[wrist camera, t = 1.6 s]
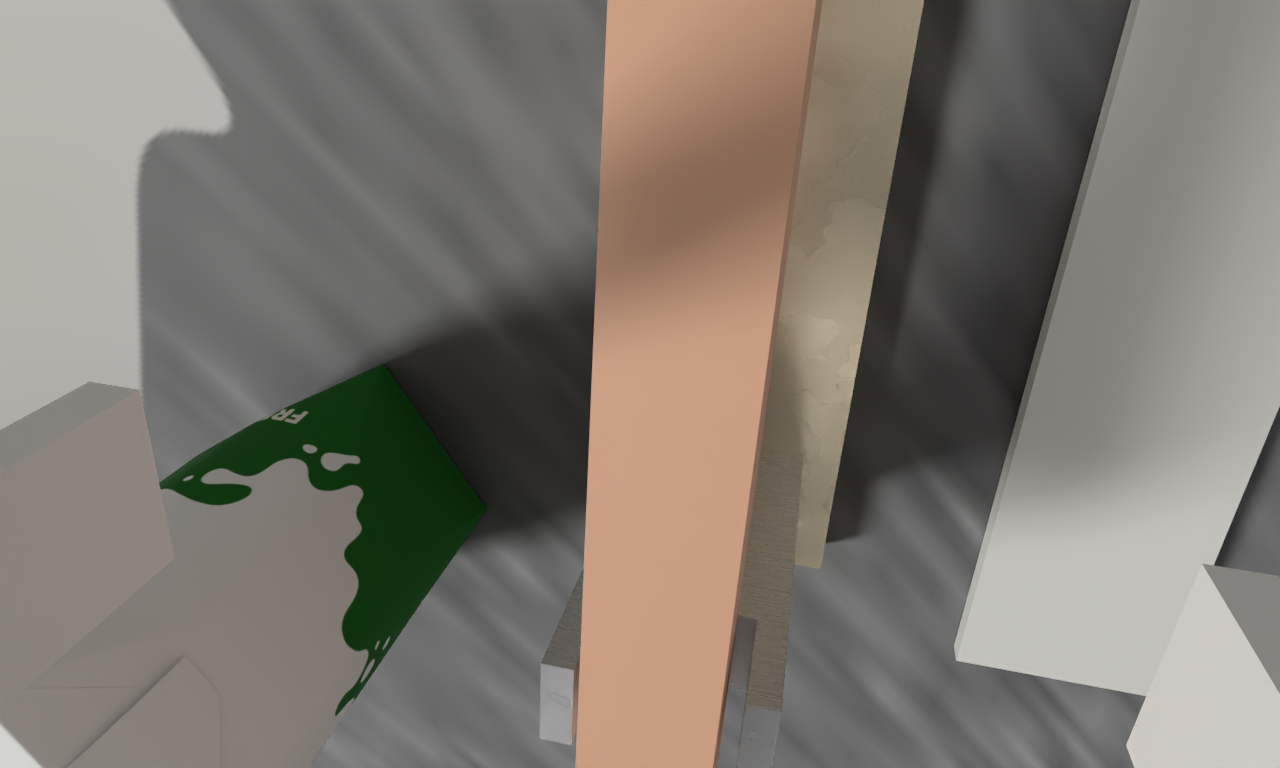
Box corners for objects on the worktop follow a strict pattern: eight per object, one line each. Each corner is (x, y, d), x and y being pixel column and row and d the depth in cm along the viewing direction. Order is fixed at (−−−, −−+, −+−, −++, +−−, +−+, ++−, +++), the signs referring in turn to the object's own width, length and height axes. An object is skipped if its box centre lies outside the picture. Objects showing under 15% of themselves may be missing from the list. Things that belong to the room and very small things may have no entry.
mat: (1151, 682, 32) (1158, 698, 32) (953, 646, 33) (956, 660, 33) (1504, -186, 21) (1527, -191, 20) (1184, -196, 22) (1196, -202, 21)
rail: (717, 761, 25) (693, 912, 21) (613, 739, 25) (570, 882, 21) (883, -445, 14) (900, -622, 10) (692, -443, 14) (633, -611, 10)
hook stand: (821, 545, 33) (808, 852, 21) (612, 509, 34) (493, 780, 23) (960, -227, 23) (1082, -447, 11) (655, -236, 24) (476, -440, 12)
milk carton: (362, 587, 39) (-52, 1107, 21) (231, 420, 36) (-359, 843, 18) (519, 517, 35) (186, 1065, 17) (386, 328, 33) (-153, 737, 15)
